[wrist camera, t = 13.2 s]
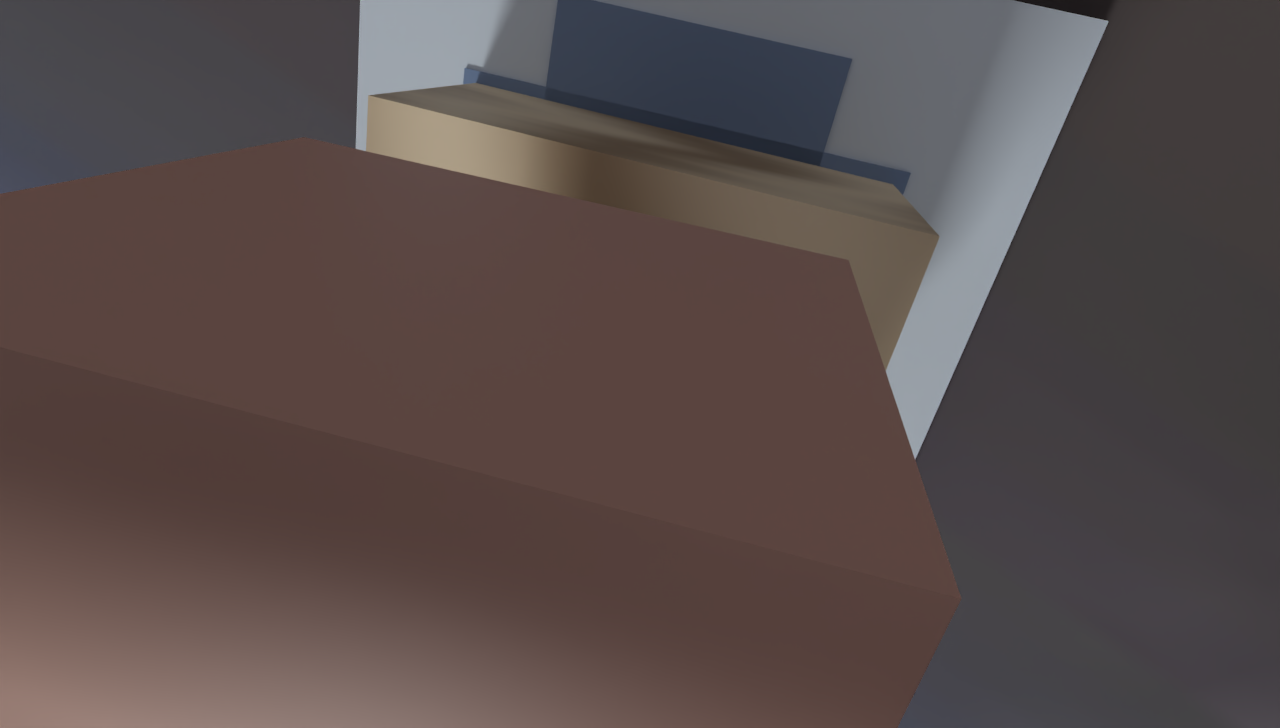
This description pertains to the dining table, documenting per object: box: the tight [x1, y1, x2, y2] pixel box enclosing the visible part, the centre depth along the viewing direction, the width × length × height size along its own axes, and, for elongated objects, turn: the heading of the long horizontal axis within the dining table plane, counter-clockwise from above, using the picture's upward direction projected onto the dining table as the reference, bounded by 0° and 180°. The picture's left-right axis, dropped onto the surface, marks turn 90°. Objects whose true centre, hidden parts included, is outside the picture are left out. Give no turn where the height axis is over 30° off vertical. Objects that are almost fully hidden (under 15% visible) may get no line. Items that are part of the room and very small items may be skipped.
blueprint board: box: [356, 0, 1109, 459], centre depth 18 cm, size 16×14×1 cm
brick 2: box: [0, 137, 961, 728], centre depth 7 cm, size 10×6×5 cm, turn 170°
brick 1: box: [366, 83, 940, 371], centre depth 16 cm, size 10×6×5 cm, turn 78°
